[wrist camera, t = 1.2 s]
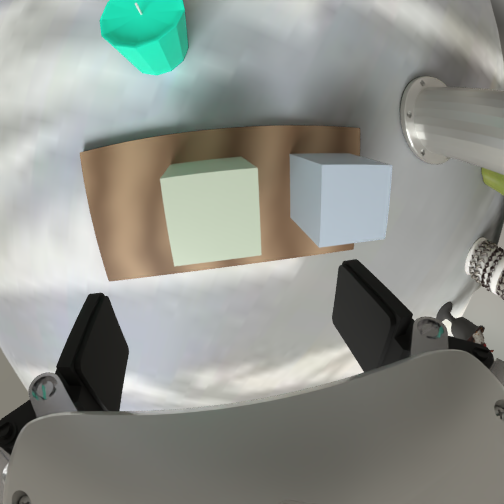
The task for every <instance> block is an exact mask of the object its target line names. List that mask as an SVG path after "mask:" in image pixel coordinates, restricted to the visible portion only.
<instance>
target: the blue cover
mask: <svg viewBox="0 0 504 504" xmlns="http://www.w3.org/2000/svg"><path fill="white" fill-rule="evenodd" d="M391 179H392V165H389V164H386V163H383V162H379V161H376V160H372V159H368V158H365V157H361V156H357V155H353V154H349V153H303V154H290V218H291V219H292V220H293V221H294V222H295V223H296V224H297V225H298V226H299V227H300V228H301V229H302V230H303V231H304V232H305V233H306V234H307V235H308V236H309V237H310V239H311V240H312V241H313V242H314V243H315V244H316V245H317V246H318V247H319V248H321V247H328V246H336V245H343V244H351V243H358V242H365V241H373V240H380V239H385V235H386V228H387V220H388V211H389V202H390V191H391Z"/></svg>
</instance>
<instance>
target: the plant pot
mask: <svg viewBox="0 0 504 504" xmlns="http://www.w3.org/2000/svg"><path fill="white" fill-rule="evenodd" d="M482 176H483V181H484V183H485V184H486V185H488V186H490V187H491V188H493V189H495V190H496V191H498V192H499V193H501V194H502V195H504V175H502V174H499V173H497V172H494V171H491V170H488V169H485V168H482Z"/></svg>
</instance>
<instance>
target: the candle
mask: <svg viewBox="0 0 504 504" xmlns="http://www.w3.org/2000/svg"><path fill="white" fill-rule="evenodd" d="M100 27H101V35H102V37H103V38H104V39H105V40H107V41H108V42H109V43H110V44H111V45H112V46H113V47H114V48H115V49H116V50H118V51H119V52H120V53H121V54H122V55H123V56H124V57H125V58H126V59H127V60H128V61H129V62H131V63H132V64H133V65H134V66H135V67H136V68H137V69H138V70H140V71H141V72H142V73H145V74H152V75H160V74H163V73H166V72H169V71H172V70H173V69H174V68H176V67H177V66H178V65H179V64H180V63H181V62H182V61H183V60H184V58H185V55H186V53H187V50H188V39H187V28H186V17H185V8H184V4H183V0H110V1H109V2H108V3H107V5H106V7H105V9H104V12H103V14H102V16H101V19H100Z"/></svg>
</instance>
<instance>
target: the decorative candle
mask: <svg viewBox="0 0 504 504" xmlns="http://www.w3.org/2000/svg"><path fill="white" fill-rule="evenodd" d="M488 243H489V244H488ZM465 271H466V274H468V275H470V276H471V278H472V279H473V278H474V279H476V282H479V283H481V284H482V286H483V287H486V288H487V290H488V291H492V292H493V293H494V294H496V295H498V296H500V297H501V298H502V299H503V300H504V250H503V249H502V248H501V247H499V248H498V246H497V245H496V244H495V243H492V242H491V241H490V240H487V239H485V238H484V237H482V238H479V239H478V240H477V241H476V242H475V243H474V244H473V246H472V247H471V249H470V251H469V253H468V255H467V258H466V262H465Z"/></svg>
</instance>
